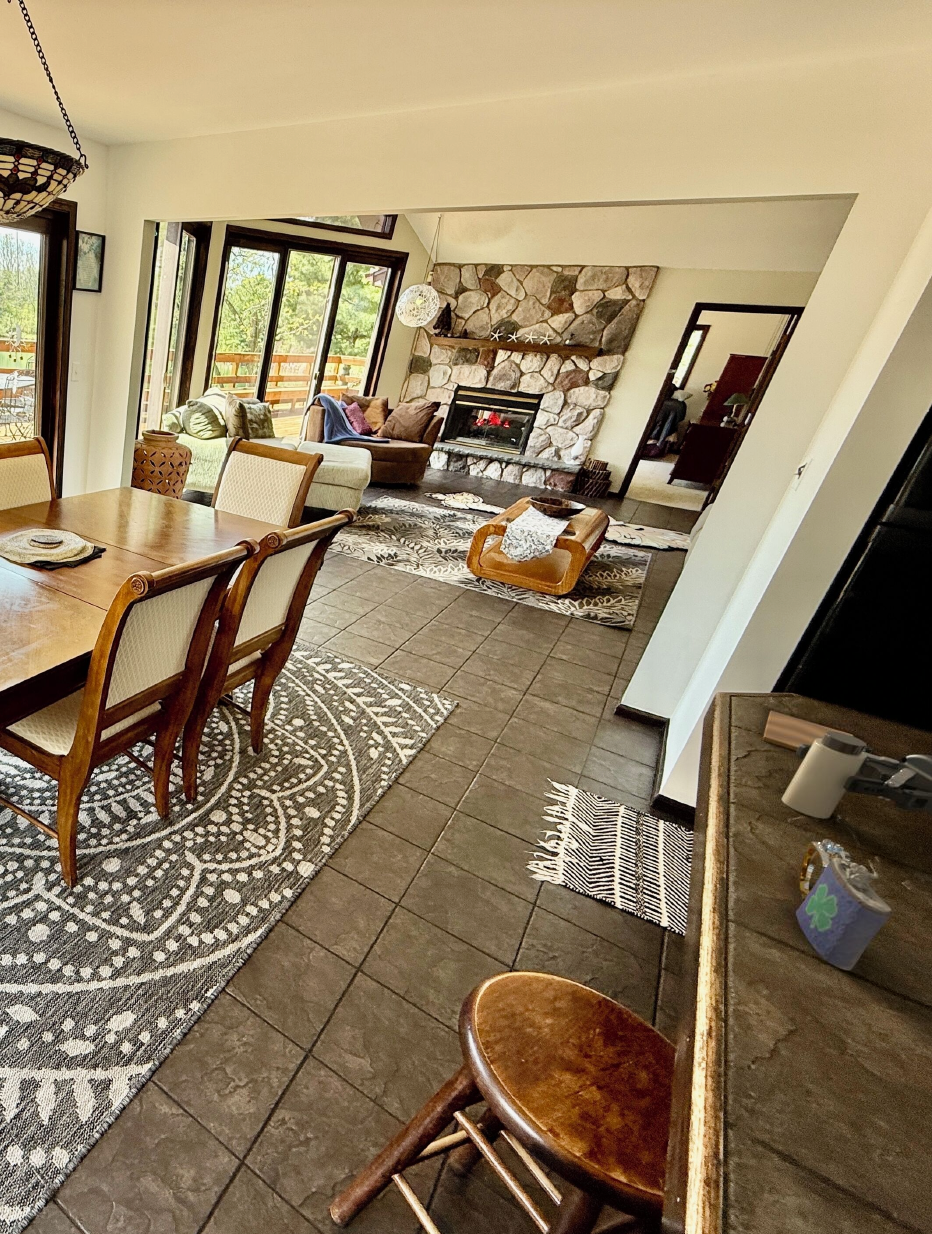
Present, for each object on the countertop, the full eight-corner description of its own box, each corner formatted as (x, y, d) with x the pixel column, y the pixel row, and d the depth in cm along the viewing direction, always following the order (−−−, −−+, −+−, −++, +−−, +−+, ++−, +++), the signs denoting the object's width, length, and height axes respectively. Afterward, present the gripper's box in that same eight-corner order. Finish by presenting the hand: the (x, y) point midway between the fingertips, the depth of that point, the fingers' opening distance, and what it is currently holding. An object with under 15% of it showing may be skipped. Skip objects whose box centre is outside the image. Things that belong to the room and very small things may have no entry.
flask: (853, 980, 68) (908, 901, 64) (815, 967, 69) (867, 889, 65) (817, 921, 76) (864, 848, 72) (783, 910, 77) (827, 838, 73)
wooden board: (851, 768, 109) (854, 764, 109) (762, 740, 116) (764, 736, 116) (851, 738, 119) (853, 734, 119) (769, 713, 126) (770, 710, 126)
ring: (781, 875, 83) (811, 824, 80) (816, 889, 81) (849, 837, 78) (785, 905, 78) (818, 852, 75) (823, 920, 76) (858, 866, 73)
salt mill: (819, 803, 99) (860, 735, 94) (837, 822, 94) (881, 752, 90) (775, 792, 101) (812, 725, 96) (790, 811, 96) (831, 741, 92)
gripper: (920, 737, 97) (796, 720, 100) (1026, 793, 84) (880, 772, 87) (893, 778, 100) (773, 761, 103) (992, 839, 87) (851, 818, 90)
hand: (822, 766), depth 95 cm, fingers open, 8 cm apart
